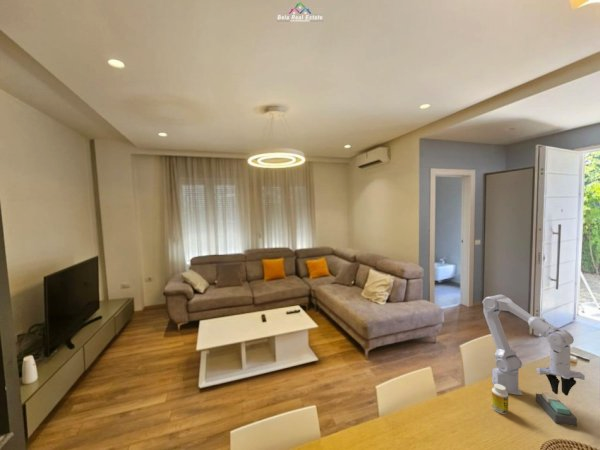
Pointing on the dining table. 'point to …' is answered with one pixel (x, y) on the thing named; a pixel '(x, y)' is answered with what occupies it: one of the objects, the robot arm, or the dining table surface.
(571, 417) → the bezel
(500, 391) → the supplement bottle
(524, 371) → the dining table surface
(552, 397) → the key cream
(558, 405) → the key teal
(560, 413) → the board
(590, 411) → the dining table surface
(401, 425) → the dining table surface
